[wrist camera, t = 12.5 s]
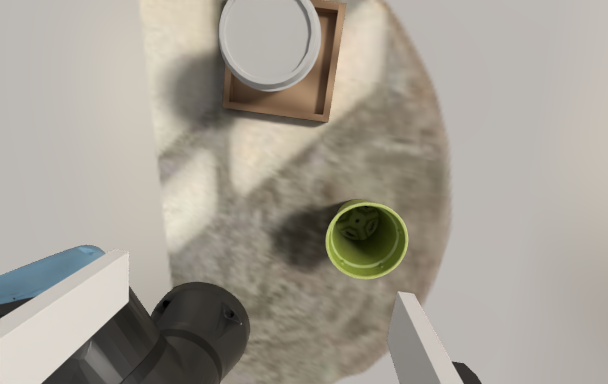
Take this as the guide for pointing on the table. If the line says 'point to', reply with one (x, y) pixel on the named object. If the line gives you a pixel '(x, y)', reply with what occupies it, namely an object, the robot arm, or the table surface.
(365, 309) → the table surface
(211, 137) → the table surface
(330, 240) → the plant pot
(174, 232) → the table surface
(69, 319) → the robot arm
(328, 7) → the tray
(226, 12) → the disposable coffee cup
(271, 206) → the table surface
